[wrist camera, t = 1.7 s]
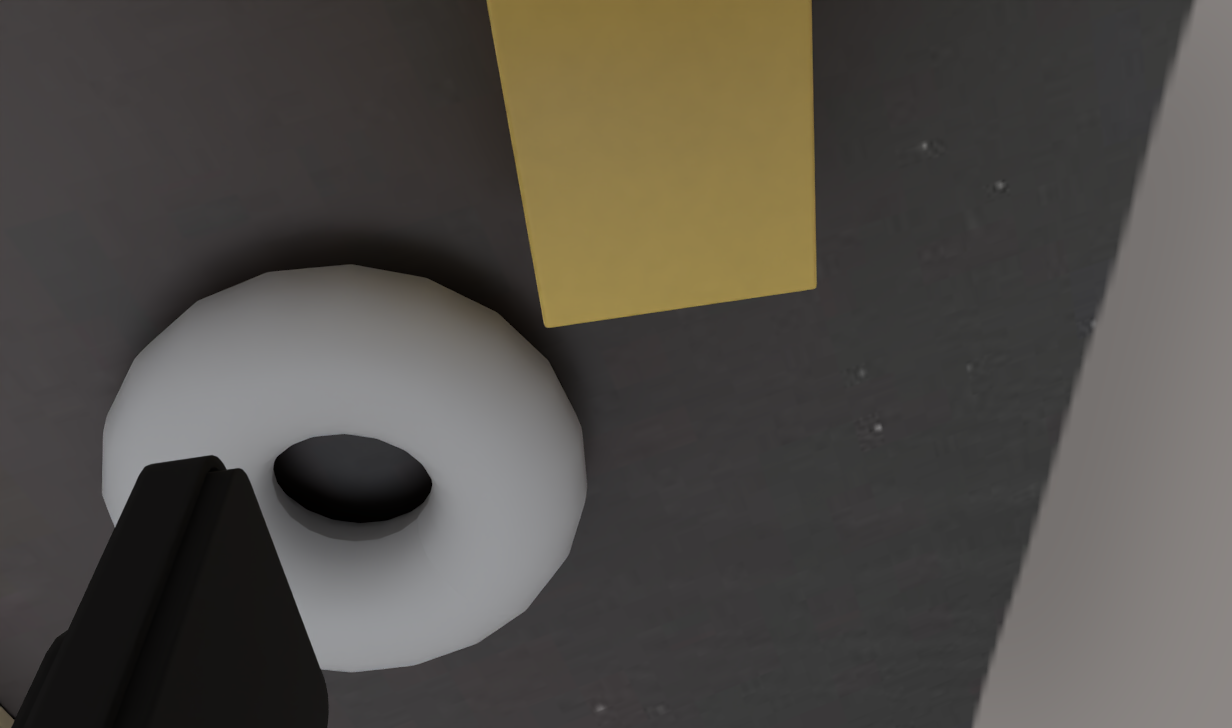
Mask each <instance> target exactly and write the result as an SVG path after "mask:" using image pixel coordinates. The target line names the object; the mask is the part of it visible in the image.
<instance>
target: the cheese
mask: <svg viewBox="0 0 1232 728" xmlns="http://www.w3.org/2000/svg"><path fill="white" fill-rule="evenodd" d="M486 1H487V7H488V12H489V18H490V24H491V29H492V35H493V41H494V46H495V52H496V57H497V63H498V69H499V74H500V80H501V85H502V91H503V97H504V102H505V108H506V114H507V119H508V125H509V130H510V136H511V142H512V147H513V153H514V159H515V164H516V170H517V175H518V181H519V187H520V192H521V198H522V204H523V209H524V215H525V220H526V226H527V232H528V237H529V243H530V248H531V254H532V260H533V265H534V271H535V277H536V282H537V288H538V293H539V299H540V305H541V310H542V316H543V322H544V325H545V326H546V328H552V327H559V326H565V325H572V324H579V323H586V322H593V321H599V320H606V319H613V318H620V317H627V316H633V315H640V314H647V313H654V312H661V311H667V310H674V309H681V308H688V307H695V306H701V305H708V304H715V303H722V302H729V301H735V300H742V299H749V298H756V297H763V296H769V295H776V294H783V293H790V292H797V291H803V290H810V289H814V288H816V285H817V270H816V214H815V159H814V103H813V47H812V0H486Z"/></svg>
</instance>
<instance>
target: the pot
mask: <svg viewBox="0 0 1232 728" xmlns="http://www.w3.org/2000/svg"><path fill="white" fill-rule="evenodd" d="M14 721H15V720H14V719H13V718H12V717H11V716H10V715H9V714H8V713H7V712H6V711H5V710H4V709H3V708H2V707H1V706H0V728H11V727H12V725H13V723H14Z"/></svg>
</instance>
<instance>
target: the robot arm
mask: <svg viewBox="0 0 1232 728" xmlns="http://www.w3.org/2000/svg"><path fill="white" fill-rule="evenodd" d="M327 724H328V694H327V688H326V683H325V680H324V677H323V674H322V671H321V669H320V666H319V663H318V661H317V658H316V655H315V653H314V650H313V647H312V645H311V642H310V639H309V637H308V634H307V631H306V629H305V626H304V623H303V621H302V618H301V615H300V613H299V610H298V607H297V605H296V602H295V599H294V597H293V594H292V591H291V589H290V586H289V583H288V581H287V578H286V575H285V573H284V570H283V567H282V565H281V562H280V559H279V557H278V554H277V551H276V549H275V546H274V543H273V541H272V538H271V535H270V533H269V530H268V527H267V525H266V522H265V519H264V517H263V514H262V511H261V509H260V506H259V503H258V501H257V498H256V495H255V493H254V490H253V487H252V485H251V482H250V480H249V478H248V476H247V474H246V473H245V471H244V470H243V469H240V468H234V469H228V470H227V469H226V467H225V465H224V463H223V462H222V461H221V460H220V459H219V458H218V457H217V456H214V455H208V456H201V457H195V458H188V459H181V460H174V461H167V462H161V463H154V464H150V465H147V466H145V467H144V468H143V470H142V471H141V473H140V474H139V476H138V478H137V481H136V483H135V485H134V487H133V489H132V491H131V494H130V496H129V498H128V500H127V502H126V505H125V507H124V509H123V511H122V513H121V515H120V518H119V520H118V522H117V524H116V526H115V529H114V531H113V533H112V535H111V537H110V539H109V542H108V544H107V546H106V548H105V550H104V553H103V555H102V557H101V559H100V561H99V564H98V566H97V568H96V570H95V572H94V574H93V577H92V579H91V581H90V583H89V585H88V588H87V590H86V592H85V594H84V596H83V598H82V601H81V603H80V605H79V607H78V609H77V612H76V614H75V616H74V618H73V620H72V622H71V625H70V627H69V629H68V630H67V631H66V632H64V633H63V634H61V635H60V636H59V637H57V638H56V639H55V641H54V642H53V644H52V645H51V647H50V648H49V650H48V651H47V653H46V655H45V657H44V659H43V661H42V663H41V665H40V668H39V670H38V672H37V674H36V676H35V678H34V680H33V682H32V685H31V687H30V689H29V691H28V693H27V695H26V697H25V699H24V702H23V704H22V706H21V708H20V710H19V712H18V714H17V717H16V719H15V721H14V723H13V725H12V727H11V728H327Z"/></svg>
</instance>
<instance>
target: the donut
mask: <svg viewBox="0 0 1232 728" xmlns="http://www.w3.org/2000/svg"><path fill="white" fill-rule="evenodd" d="M337 434H350V435H357V436H363V437H370V438H377V439H379V440H381V441H384V442H386V443H389V444H391V445H393V446H396V447H398V448H400V449H403V450H405V451H406V452H408V453H409V454H410V455H411V456H413V457H414V458H415V459H416V460H418V461H419V462H420V463H421V464H422V465H423V466H424V468H425V470H426V471H427V473H428V474H429V476H430V477H431V479H432V488H431V492H430V494H429V495H428V497H427V498H426V500H425V501H424V502H423V503H422V504H421V505H420V506H418V507H417V508H416V509H414V510H413V511H412V512H409V513H406V514H403V515H401V516H398V517H395V518H393V519H390V520H387V521H378V522H368V523H354V522H346V521H339V520H332V519H329V518H327V517H324V516H322V515H319V514H317V513H314V512H312V511H309V510H307V509H305V508H304V507H303V506H301V505H300V504H298V503H297V502H296V501H294V500H293V499H292V498H290V497H289V496H287V495H286V494H285V493H284V491H283V490H282V489H281V487H280V486H279V484H278V483H277V481H276V477H275V474H274V470H273V468H274V461H275V459H276V458H277V456H279V455H280V454H281V453H282V452H284V451H285V450H286V449H287V448H289V447H290V446H291V445H293V444H296V443H298V442H301V441H303V440H306V439H308V438H311V437H317V436H327V435H337ZM208 455H214V456H217V457H218V458H219V459H220V460H221V461H222V462H223V463H224V465H225V467H226V469H227V470H228V469H234V468H240V469H243V470H244V471H245V473H246V474H247V476H248V478H249V480H250V482H251V485H252V487H253V490H254V493H255V495H256V498H257V501H258V503H259V506H260V509H261V511H262V514H263V517H264V519H265V522H266V525H267V527H268V530H269V533H270V535H271V538H272V541H273V543H274V546H275V549H276V551H277V554H278V557H279V559H280V562H281V565H282V567H283V570H284V573H285V575H286V578H287V581H288V583H289V586H290V589H291V591H292V594H293V597H294V599H295V602H296V605H297V607H298V610H299V613H300V615H301V618H302V621H303V623H304V626H305V629H306V631H307V634H308V637H309V639H310V642H311V645H312V647H313V650H314V653H315V655H316V658H317V661H318V663H319V666H320V669H325V670H334V671H344V672H360V671H369V670H378V669H387V668H396V667H405V666H413V665H417V664H420V663H423V662H426V661H429V660H431V659H434V658H437V657H440V656H443V655H446V654H448V653H451V652H454V651H457V650H460V649H463V648H465V647H468V646H471V645H474V644H477V643H479V642H480V641H482V640H483V639H484V638H486V637H487V636H489V635H490V634H492V633H493V632H495V631H496V630H498V629H499V628H501V627H502V626H504V625H505V624H506V623H508V622H509V621H511V620H512V619H514V618H515V617H517V616H518V615H520V614H521V613H523V612H524V611H526V609H527V608H528V607H529V606H530V604H531V603H532V602H533V601H534V599H535V598H536V597H537V595H538V594H539V593H540V592H541V590H542V589H543V588H544V586H545V585H546V584H547V583H548V581H549V580H550V579H551V578H552V576H553V575H554V574H555V572H556V571H557V570H558V569H559V567H560V566H561V565H562V563H563V562H564V561H565V559H566V558H567V557H568V555H569V552H570V549H571V546H572V543H573V540H574V536H575V533H576V530H577V527H578V523H579V520H580V517H581V514H582V511H583V507H584V504H585V500H586V493H587V477H586V467H585V456H584V445H583V434H582V428H581V425H580V423H579V420H578V418H577V415H576V413H575V411H574V409H573V407H572V405H571V404H570V402H569V400H568V398H567V396H566V394H565V392H564V390H563V388H562V386H561V384H560V382H559V380H558V378H557V376H556V374H555V372H554V371H553V369H552V367H551V365H550V363H549V361H548V360H547V359H546V358H545V357H544V356H543V355H542V354H541V353H540V352H539V351H538V350H537V349H536V348H535V347H533V346H532V345H531V344H530V343H529V342H528V341H527V340H526V339H525V338H524V337H523V336H522V335H521V334H520V333H519V332H518V331H516V330H515V329H514V328H513V327H512V326H511V325H510V324H509V323H508V322H507V321H506V320H505V319H504V318H503V317H502V316H501V315H499V314H498V313H497V312H495V311H493V310H491V309H489V308H487V307H485V306H483V305H481V304H479V303H477V302H475V301H473V300H471V299H468V298H466V297H464V296H462V295H460V294H458V293H456V292H454V291H452V290H450V289H448V288H446V287H444V286H442V285H440V284H438V283H436V282H434V281H432V280H430V279H428V278H425V277H419V276H414V275H408V274H403V273H397V272H392V271H386V270H381V269H375V268H370V267H364V266H359V265H353V264H348V265H337V266H327V267H316V268H305V269H295V270H284V271H273V272H267V273H264V274H262V275H259V276H257V277H254V278H252V279H250V280H247V281H245V282H242V283H240V284H237V285H235V286H232V287H230V288H228V289H225V290H223V291H220V292H218V293H215V294H213V295H210V296H208V297H206V298H203V299H201V300H198V301H197V302H195V303H194V304H193V305H192V306H191V307H190V308H189V309H188V310H186V311H185V312H184V313H183V314H182V315H181V316H180V317H179V318H177V319H176V320H175V321H174V322H173V323H172V324H171V325H170V326H168V327H167V328H166V329H165V330H164V331H163V332H162V333H161V334H159V335H158V336H157V337H156V338H155V339H154V340H153V341H152V342H150V343H149V344H148V345H147V346H146V347H145V348H144V349H143V350H142V351H141V352H140V353H139V354H138V355H137V356H136V358H135V359H134V361H133V363H132V365H131V367H130V369H129V371H128V373H127V375H126V377H125V379H124V382H123V384H122V386H121V388H120V390H119V392H118V394H117V396H116V398H115V400H114V402H113V404H112V406H111V408H110V410H109V413H108V415H107V417H106V422H105V426H104V431H103V463H102V495H103V498H104V501H105V503H106V506H107V509H108V511H109V514H110V516H111V519H112V521H113V524H114V526H116V524H117V522H118V520H119V518H120V515H121V513H122V511H123V509H124V507H125V505H126V502H127V500H128V498H129V496H130V494H131V491H132V489H133V487H134V485H135V483H136V481H137V478H138V476H139V474H140V473H141V471H142V470H143V468H144V467H145V466H147V465H150V464H154V463H161V462H167V461H174V460H181V459H188V458H195V457H201V456H208Z"/></svg>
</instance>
